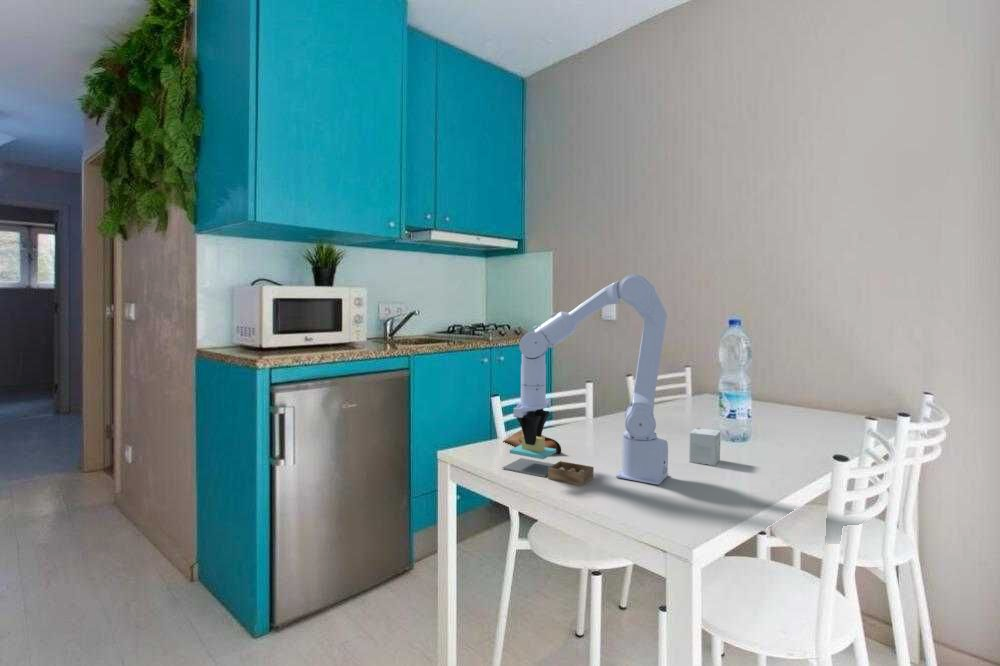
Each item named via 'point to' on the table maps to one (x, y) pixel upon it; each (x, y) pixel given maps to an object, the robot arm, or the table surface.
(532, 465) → the mat
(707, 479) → the table surface
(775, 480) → the table surface
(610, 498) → the table surface
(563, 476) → the box
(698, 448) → the skincare box
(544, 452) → the lid
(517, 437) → the sunglasses case
